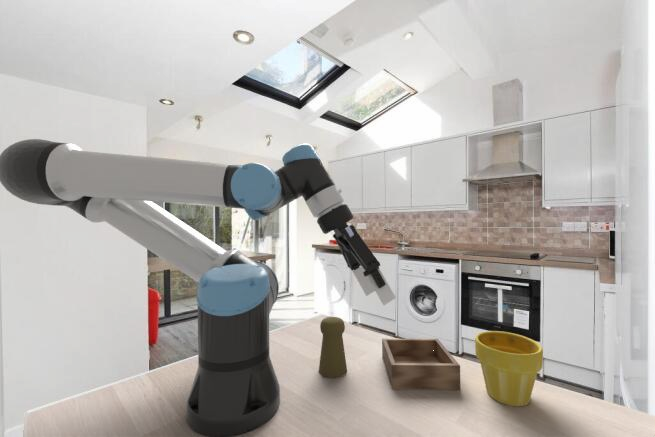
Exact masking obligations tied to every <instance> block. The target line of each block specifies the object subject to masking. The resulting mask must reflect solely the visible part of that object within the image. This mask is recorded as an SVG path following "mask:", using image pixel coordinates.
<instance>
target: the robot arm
mask: <svg viewBox="0 0 655 437" xmlns="http://www.w3.org/2000/svg"><path fill="white" fill-rule="evenodd" d="M281 159H282V163H283V166H281V168H278V169H277V170H275V171H274V170H273V169H272V168H270V167H269V166H266V165H264V164H262V163H260V162H249V163H246V164H243V165H240V164H230V163H222V162H221V163H220V162H209V161H208V162H207V161H198V160H186V159H177V158H176V159H175V158H164V157H154V156H153V157H152V156H142V155H131V154H121V153H120V154H119V153H118V154H117V153H109V152H97V151H87V150H84V149H83V148H82V147H80V146H79V145H76V144H74V143H68V142H67V143H66V142H58V141H50V140H48V139H47V140H46V139H40V138H33V139H31V138H30V139H23V140H19V141H17V142H14V143H13V144H11V145H9V146H8V147H6V148H5V149H3V151H2V152H1V153H0V183H1V185H2V186H3V188H4V189H5V190H6V191H8V193H10V194H11V195H13V196H14V197H16V198H18V199H20V200H22V201H25V202H27V203H32V204H37V205H43V206H44V205H45V206H60V207H63V206H64V207H66V208H69V209H71V210H72V211H73V212H76V213H77V214H79V215H80V216H82V217H83V218H85V219H86V220H87V221H89V222H91V223H94V224H95V223H103V222H105V223H107V224H109V225H110V226H112V227H113V228H114V229H116V230H118V231H119V232H121V233H122V234H124V235H125V236H126V237H129V239H132V240H133V241H134V242H136V243H137V244H139V245H140V246H142V247H144V248H145V249H147V250H149V251H150V252H151V253H152V254H154V255H155V256H157V257H159V258H160V259H162V261H165V262H166V263H167V264H170V265H171V266H173V267H174V268H176V269H177V270H179V271H180V272H181V273H183V274H185V275H186V276H188V277H189V278H190V279H192V280H193V281H195V282H197V283H198V285H197V292H196V303H197V335H198V336H197V342H198V343H197V350H198V352H197V354H198V360H197V361H198V364H197V365H198V366H197V370H196V373H195V376H194V380H193V383H192V385H191V390H190V392H189V395H188V399H187V402H186V420H187V423H188V425H189V426H190V428H191V429H192V430H193V431H195V432H197V433H198V434H201V435H205V436H211V437H229V436H236V435H239V434H243V433H246V432H249V431H252V430H254V429H256V428H258V427H260V426H262V425H263V424H264V423H266V422H267V421H268V420H270V419H271V418H272V417H273V416H274V415H275V414H276V412H277V410H278V409H279V407H280V404H281V388H280V384H279V381H278V378H277V375H276V372H275V371H276V370H275V369H274V366H273V363H272V360H271V357H270V314H271V312H272V309H273V306H274V305H275V303H276V302H277V300H278V296H279V292H280V291H279V290H280V289H279V280H278V277H277V274H276V273H275V271H274V270H273V269H272V268H271V266H269V265H268V264H266V263H265V262H262V261H258V260H253V259H252V258H250V257H249V256H247V255H246V254H244V253H243V252H241V251H240V250H238V249H232V250H225V249H224V248H223V247H221V246H220V245H218V244H216V243H215V242H214V241H212V240H211V239H210V238H208V237H206V236H204V235H203V234H201V233H200V232H199V231H197V230H196V229H195V228H193V227H191V226H190V225H188V224H187V223H185V222H184V221H182V220H181V219H179V218H178V217H176V216H174V214H172V213H171V212H169V211H167V210H166V209H164V208H163V207H161V206H160V205H158V204H157V203H166V204H167V203H168V204H169V203H170V204H179V205H180V204H181V205H193V206H205V207H206V206H207V207H220V208H221V207H222V208H231V209H241V210H243V211H245V213H246V214H247V215H248V217H250V219H252V220H253V221H259V220H261V219H263V218H266V217H269V216H270V215H271V214H272V213H275V212H276V211H277V210H280V209H281V208H283V207H284V206H286V205H289V203H290V204H291V203H292V202H293V201H295V200H297V199H299V198H300V197H302V198H303V200H304V201H305V204H306V205H307V208H308V209H309V211H310V213H311V214H312V216H313V218H317V219H316V223H317V224H318V226H319V228H320V229H321V232H322V234H324V235H326V234H328V233H330V232H332V231H333V232H334V233H333V234H332V237H333V239H334V240H335V242H336V244H337V246H338V248H339V250H340V252H341V254H342V256H343V259H344V261H345V262H346V265H347V268H349V269H350V270H351V271H352V273H353V275H354V277H355V279H356V281H357V282H358V284H359V285H360V288H361V290H362V291H363V293H364V295H365V296H366V297H367V296H369V295H370V294H372V293H374V292H375V293H376V295H377V296H378V299H379V300H380V302H381V303H382V305H383V306H386V305H387V304H389V303H390V302H392V301H393V300H395V299H396V298H397V297H396V295H395V293H394V292H393V290H392V289H391V287H390V285H389V283H388V282H387V279H386V278H385V276H384V275H383V272H382V271H381V269H380V266H381V262H380V261H379V260H378V259H377V258H376V256H375V255H374V253H373V252H372V250H370V248H369V246H368V245H367V244H366V242H365V241H364V240H363V239H362V237H361V236H360V234H359V233H358V231H357V230H356V227H355V226H354V225H353V224H350V225H348V222H350V221H352V220H353V219H354V214H353V213H352V211H351V209H350V207H349V205H348V204H346V203H344V201H345V200H344V197H343V196H342V194H341V193H342V190H341V189H340V188H337V186H336V183H335V182H334V180H333V178H332V176H331V175H330V173H329V171H328V170H327V167H326V166H325V164H324V162H323V161H322V158H321V157H320V156H319V155H318V153H317V151H316V150H315V148H314V147H313V146H312V145H311V144H310V143H302V144H301V143H300V144H298V145H296V146H294V147H292V148H290V150H288V151H287V152H285V153H284V154H283V156H282V157H281Z"/></svg>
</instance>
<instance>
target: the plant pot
mask: <svg viewBox="0 0 655 437" xmlns="http://www.w3.org/2000/svg"><path fill="white" fill-rule="evenodd" d="M474 349H475V357H476V358H477V359H478V360H479V362H480V367H481V371H482V375H483V380H484V385H485V389H486V392H487V394H488V395H489V397H491V398H492V399H493V400H494V401H497V402H498V403H500V404H503V405H507V406H511V407H525V406H526V405H528V404H529V403H530V402H531V401H530V400H531V397H532V393H533V389H534V385H535V382H536V379H537V376H538V373H539V372H540V371H542V368H543V364H544V362H543V361H544V349H543V347H542V345H541V344H540V343H538V341H536V340H534V339H532V338H529V337H527V336H524V335H521V334H518V333H512V332H508V331H499V330H487V331H482V332H480V333H477V334H476V335H475V337H474Z"/></svg>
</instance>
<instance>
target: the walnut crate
mask: <svg viewBox="0 0 655 437" xmlns="http://www.w3.org/2000/svg"><path fill="white" fill-rule="evenodd" d="M381 342H382V343H381V345H382V346H381V347H382V348H381V350H382V352H381V353H382V354H381V355H382V357H381V358H382V361H383V364H384V368H385V371H386V374H387V377H388V382H389V383H390V387H391V389H392V390H426V391H427V390H431V391H432V390H434V391H435V390H449V391H453V390H454V391H461V365H460V363H458V361H457V360H456V359H455V357H454V356H453V355H452V353H451V352H450V351H449V350H448V349H447V348H446V347H445V346H444V344H443V343H442V342H441V341H440V340H439V338H381ZM433 350H434V351H433Z"/></svg>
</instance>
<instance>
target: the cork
mask: <svg viewBox="0 0 655 437" xmlns="http://www.w3.org/2000/svg"><path fill="white" fill-rule="evenodd" d="M345 328H346V326H345V321H344V320H343V318H341V317H338V316H329V317H325V318H323V319H321V321H320V326H319V329H320V332H321V334H322V338H321V339H322V341H321V348H320V358H319V365H318V373H319V375H321V376H322V377H324V378H330V379H337V378H341V377H344V376H345V375H346V374H347V373H348V367H347V360H346V352H345V346H344V345H345V344H344V338H343V334H344V332H345V330H346V329H345Z"/></svg>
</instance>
